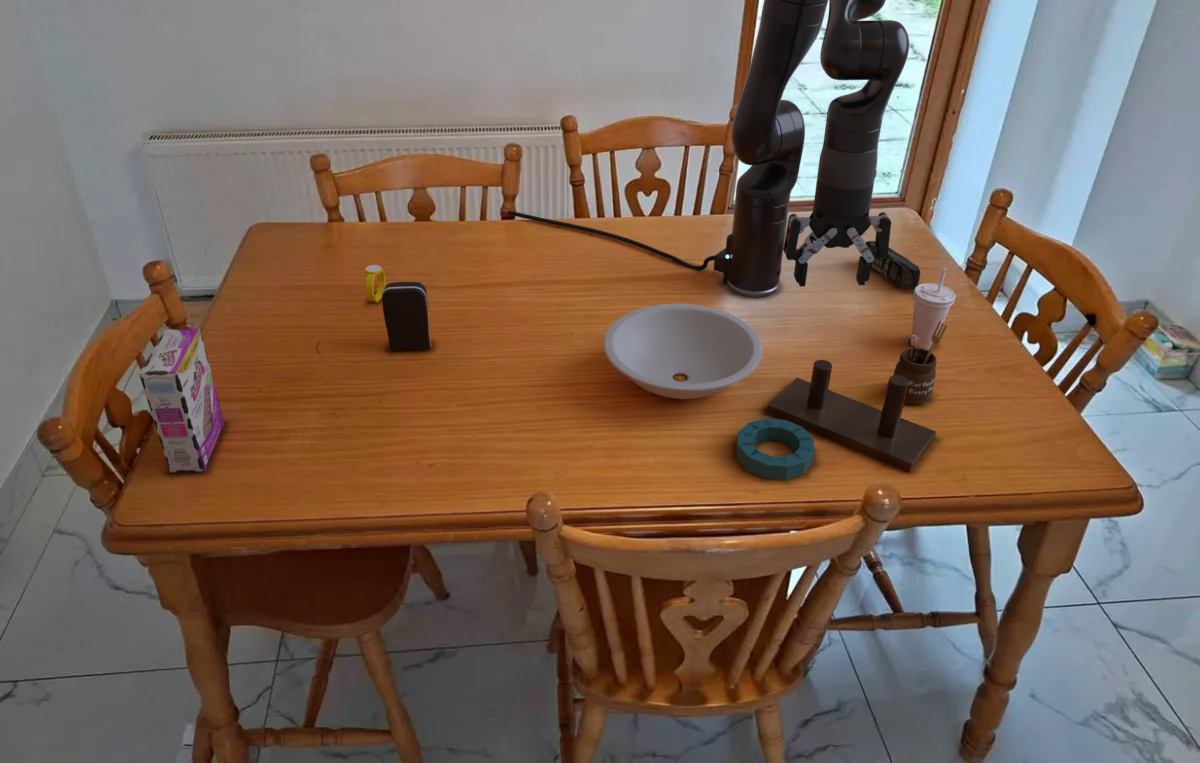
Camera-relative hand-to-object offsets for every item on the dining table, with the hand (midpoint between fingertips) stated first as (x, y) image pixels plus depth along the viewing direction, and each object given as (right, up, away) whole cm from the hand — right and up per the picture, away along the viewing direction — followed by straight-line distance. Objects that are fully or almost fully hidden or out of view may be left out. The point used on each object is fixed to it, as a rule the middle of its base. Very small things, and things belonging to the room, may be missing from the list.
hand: (830, 283), depth 134 cm
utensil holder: (+14, -16, +8) cm, 23 cm away
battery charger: (-64, -8, +18) cm, 67 cm away
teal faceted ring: (-9, -24, -5) cm, 26 cm away
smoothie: (+20, -8, +19) cm, 29 cm away
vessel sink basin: (-21, -14, +11) cm, 27 cm away
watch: (-73, 0, +30) cm, 79 cm away
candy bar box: (-89, -24, -4) cm, 92 cm away
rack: (+3, -21, +1) cm, 21 cm away
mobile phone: (+20, +5, +37) cm, 43 cm away
